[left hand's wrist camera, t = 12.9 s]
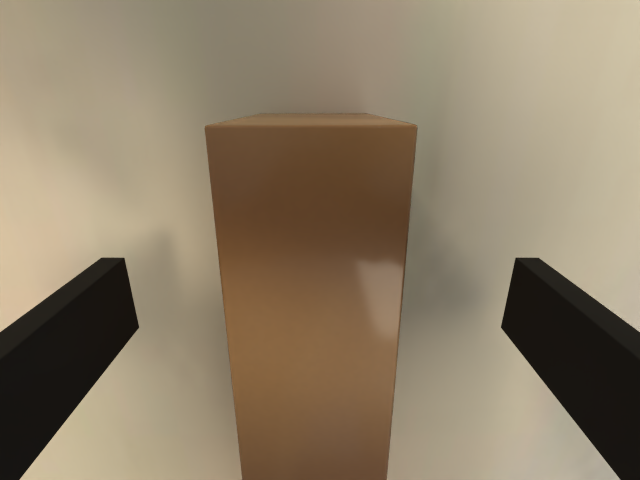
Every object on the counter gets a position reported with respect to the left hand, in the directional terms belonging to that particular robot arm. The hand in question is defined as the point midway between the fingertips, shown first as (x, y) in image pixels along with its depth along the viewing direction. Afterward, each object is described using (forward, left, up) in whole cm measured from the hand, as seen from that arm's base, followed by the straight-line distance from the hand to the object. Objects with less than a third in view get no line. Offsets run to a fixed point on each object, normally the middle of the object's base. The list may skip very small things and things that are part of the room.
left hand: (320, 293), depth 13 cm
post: (+18, -14, -5) cm, 24 cm away
